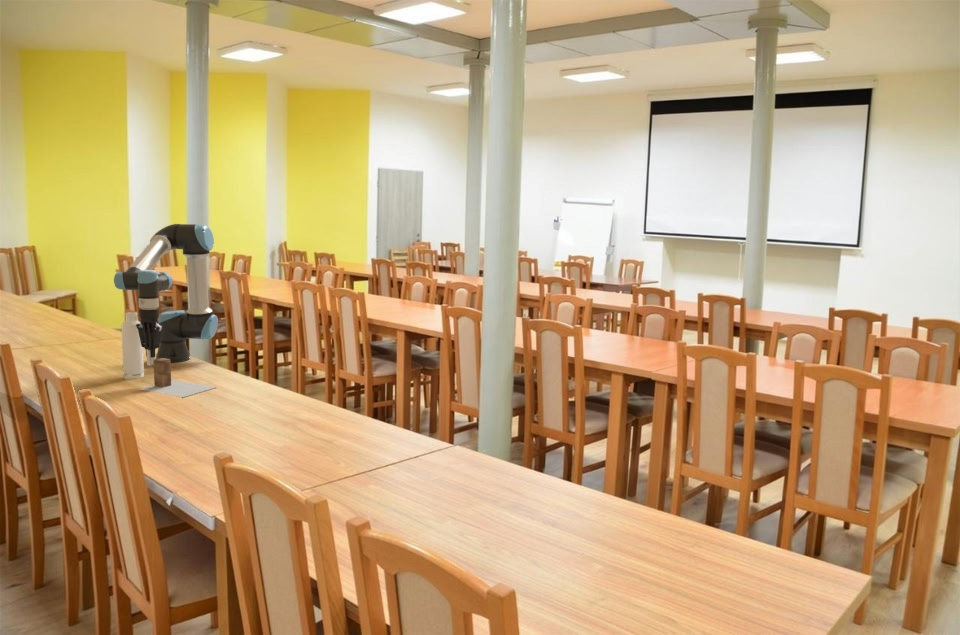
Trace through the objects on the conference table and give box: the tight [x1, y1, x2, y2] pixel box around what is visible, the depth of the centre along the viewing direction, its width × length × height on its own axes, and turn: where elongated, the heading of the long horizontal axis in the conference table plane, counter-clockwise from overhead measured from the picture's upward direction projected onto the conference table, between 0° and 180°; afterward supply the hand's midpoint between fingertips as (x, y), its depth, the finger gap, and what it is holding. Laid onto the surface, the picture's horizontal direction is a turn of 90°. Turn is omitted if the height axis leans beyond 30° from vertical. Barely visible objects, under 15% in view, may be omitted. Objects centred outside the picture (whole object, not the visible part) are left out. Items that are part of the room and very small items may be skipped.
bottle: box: [121, 311, 145, 380], centre depth 322 cm, size 8×8×28 cm
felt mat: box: [138, 379, 217, 399], centre depth 307 cm, size 18×24×1 cm
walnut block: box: [153, 358, 172, 388], centre depth 309 cm, size 4×4×11 cm
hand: (151, 364), depth 311 cm, fingers closed
